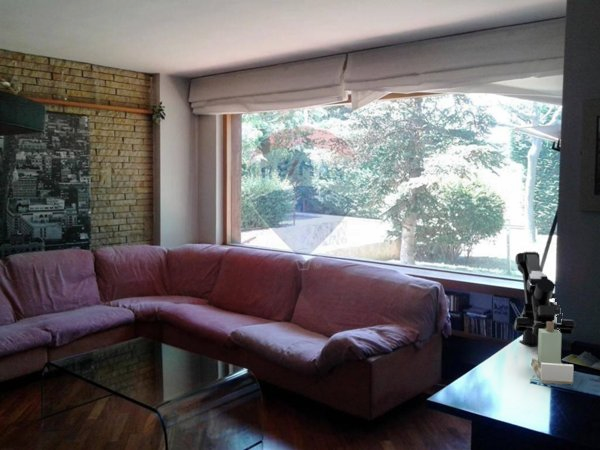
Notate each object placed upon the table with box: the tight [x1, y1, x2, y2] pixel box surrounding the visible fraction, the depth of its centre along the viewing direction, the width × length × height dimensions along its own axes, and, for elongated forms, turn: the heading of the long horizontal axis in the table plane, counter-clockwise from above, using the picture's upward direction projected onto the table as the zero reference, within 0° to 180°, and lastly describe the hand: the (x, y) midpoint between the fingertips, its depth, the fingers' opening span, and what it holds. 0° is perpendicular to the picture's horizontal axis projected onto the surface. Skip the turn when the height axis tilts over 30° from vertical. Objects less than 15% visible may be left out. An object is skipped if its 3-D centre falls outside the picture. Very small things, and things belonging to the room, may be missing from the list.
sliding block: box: [536, 321, 563, 367], centre depth 177 cm, size 5×6×15 cm
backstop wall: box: [541, 363, 575, 383], centre depth 167 cm, size 2×9×5 cm, turn 77°
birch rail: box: [530, 357, 574, 385], centre depth 174 cm, size 17×9×2 cm, turn 167°
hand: (547, 347), depth 180 cm, fingers closed, pressing on sliding block
